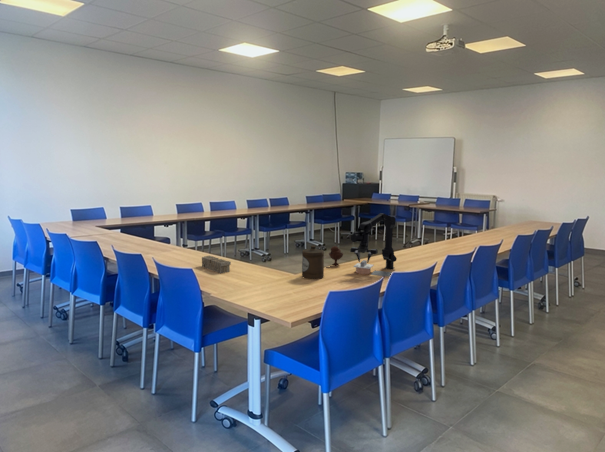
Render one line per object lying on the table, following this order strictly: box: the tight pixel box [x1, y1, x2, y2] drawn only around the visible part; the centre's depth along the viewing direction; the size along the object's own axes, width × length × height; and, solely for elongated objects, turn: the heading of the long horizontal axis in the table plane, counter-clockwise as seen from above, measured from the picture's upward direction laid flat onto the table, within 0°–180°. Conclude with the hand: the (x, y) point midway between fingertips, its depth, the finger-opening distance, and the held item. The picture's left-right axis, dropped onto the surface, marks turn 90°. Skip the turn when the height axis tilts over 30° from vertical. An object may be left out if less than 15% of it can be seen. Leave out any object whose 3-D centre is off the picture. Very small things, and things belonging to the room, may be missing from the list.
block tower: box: [201, 255, 231, 274], centre depth 312 cm, size 8×8×29 cm
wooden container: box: [301, 244, 325, 280], centre depth 293 cm, size 15×15×22 cm
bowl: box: [355, 267, 372, 275], centre depth 308 cm, size 10×10×5 cm
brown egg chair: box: [328, 245, 344, 267], centre depth 331 cm, size 11×11×15 cm
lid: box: [352, 259, 374, 269], centre depth 307 cm, size 12×12×4 cm
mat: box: [369, 270, 392, 278], centre depth 306 cm, size 14×14×1 cm
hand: (363, 262), depth 307 cm, fingers open, 6 cm apart
